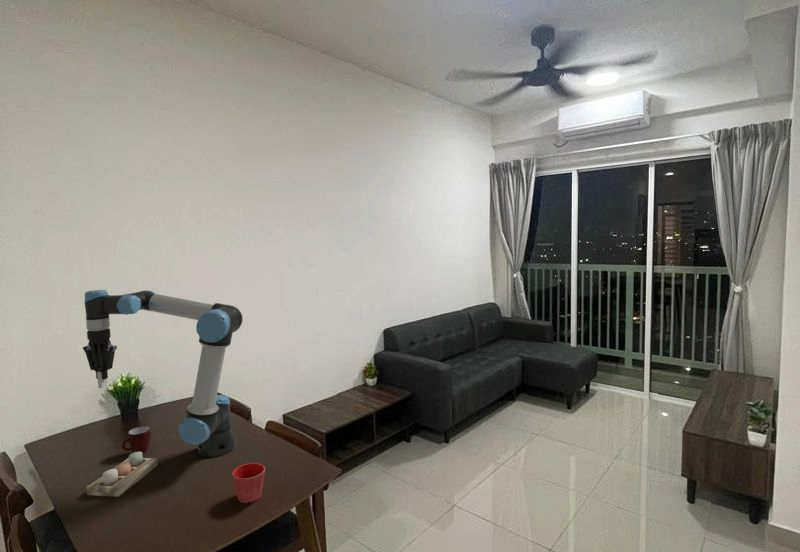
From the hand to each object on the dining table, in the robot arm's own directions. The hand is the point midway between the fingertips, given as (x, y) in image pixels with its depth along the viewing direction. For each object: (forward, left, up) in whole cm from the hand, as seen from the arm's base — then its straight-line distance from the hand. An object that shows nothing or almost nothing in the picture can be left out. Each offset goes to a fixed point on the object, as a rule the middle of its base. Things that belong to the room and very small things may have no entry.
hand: (102, 386), depth 170 cm
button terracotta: (-15, +10, -31) cm, 36 cm away
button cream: (-15, +16, -29) cm, 37 cm away
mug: (-6, -9, -33) cm, 34 cm away
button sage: (-15, +3, -29) cm, 33 cm away
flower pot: (-68, +17, -33) cm, 77 cm away
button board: (-15, +10, -32) cm, 37 cm away
